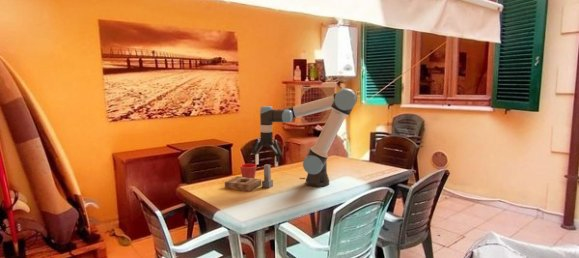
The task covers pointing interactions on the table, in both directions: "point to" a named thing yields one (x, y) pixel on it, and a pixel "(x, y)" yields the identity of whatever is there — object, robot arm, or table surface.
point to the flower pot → (248, 170)
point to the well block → (243, 183)
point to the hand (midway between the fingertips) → (266, 165)
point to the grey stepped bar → (267, 177)
